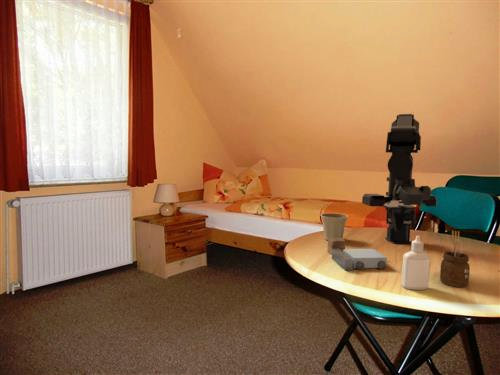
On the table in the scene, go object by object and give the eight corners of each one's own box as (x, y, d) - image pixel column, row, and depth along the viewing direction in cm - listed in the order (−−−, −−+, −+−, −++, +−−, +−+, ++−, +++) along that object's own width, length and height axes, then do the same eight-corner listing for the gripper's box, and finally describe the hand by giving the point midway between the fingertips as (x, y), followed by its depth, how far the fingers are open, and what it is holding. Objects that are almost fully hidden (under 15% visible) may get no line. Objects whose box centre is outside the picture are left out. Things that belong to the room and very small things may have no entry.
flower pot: (314, 237, 126) (315, 213, 125) (335, 235, 130) (336, 212, 129) (330, 244, 117) (331, 218, 116) (352, 241, 121) (353, 216, 120)
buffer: (338, 258, 101) (339, 248, 101) (352, 270, 91) (352, 259, 91) (331, 258, 101) (332, 248, 100) (344, 270, 91) (345, 259, 91)
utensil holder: (440, 285, 82) (444, 234, 80) (438, 276, 87) (441, 229, 86) (470, 289, 79) (474, 237, 78) (466, 280, 85) (469, 232, 84)
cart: (371, 257, 102) (371, 248, 102) (388, 269, 92) (388, 258, 92) (341, 258, 101) (341, 248, 101) (355, 269, 91) (355, 259, 91)
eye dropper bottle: (428, 293, 77) (432, 239, 76) (400, 288, 80) (404, 236, 78) (428, 286, 81) (431, 235, 80) (401, 282, 83) (404, 232, 82)
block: (340, 251, 108) (340, 237, 108) (344, 255, 104) (345, 240, 104) (327, 252, 108) (328, 237, 107) (331, 256, 104) (332, 241, 103)
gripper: (381, 176, 86) (378, 238, 88) (452, 176, 88) (448, 237, 90) (362, 173, 97) (359, 228, 99) (426, 173, 99) (422, 228, 101)
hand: (397, 230), depth 97 cm, fingers closed
